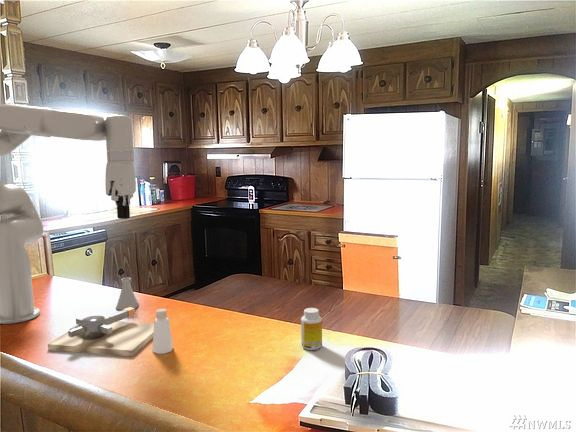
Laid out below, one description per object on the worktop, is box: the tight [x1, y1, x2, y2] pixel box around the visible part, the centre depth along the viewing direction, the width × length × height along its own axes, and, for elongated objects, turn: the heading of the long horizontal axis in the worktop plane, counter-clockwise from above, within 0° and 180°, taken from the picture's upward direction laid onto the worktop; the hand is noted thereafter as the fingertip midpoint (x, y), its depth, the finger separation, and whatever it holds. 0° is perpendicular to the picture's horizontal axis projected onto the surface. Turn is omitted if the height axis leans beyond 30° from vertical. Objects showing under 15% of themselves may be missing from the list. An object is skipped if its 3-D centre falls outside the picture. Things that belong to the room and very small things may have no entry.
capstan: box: [67, 307, 136, 339], centre depth 126 cm, size 20×14×4 cm
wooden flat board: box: [47, 320, 154, 357], centre depth 125 cm, size 24×18×3 cm
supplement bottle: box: [300, 307, 323, 351], centre depth 120 cm, size 6×6×10 cm
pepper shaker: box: [152, 308, 174, 355], centre depth 118 cm, size 5×5×11 cm
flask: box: [115, 277, 140, 311], centre depth 150 cm, size 7×7×10 cm
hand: (123, 218), depth 136 cm, fingers closed
